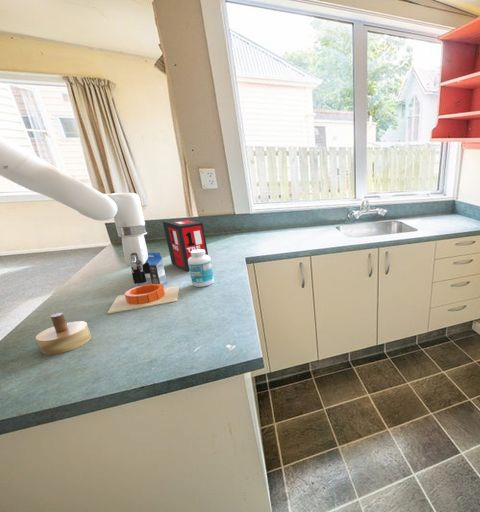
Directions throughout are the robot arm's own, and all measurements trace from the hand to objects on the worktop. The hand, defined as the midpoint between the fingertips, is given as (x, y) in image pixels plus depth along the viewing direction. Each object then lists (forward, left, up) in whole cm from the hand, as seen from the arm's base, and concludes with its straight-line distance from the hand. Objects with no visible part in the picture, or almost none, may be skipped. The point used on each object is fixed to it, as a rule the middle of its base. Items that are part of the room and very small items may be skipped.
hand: (143, 278), depth 103 cm
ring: (0, -4, -6) cm, 7 cm away
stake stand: (-14, -26, -6) cm, 30 cm away
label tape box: (0, +11, -7) cm, 13 cm away
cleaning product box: (+12, +29, -7) cm, 32 cm away
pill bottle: (+17, +2, -7) cm, 19 cm away
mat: (0, -4, -6) cm, 8 cm away
